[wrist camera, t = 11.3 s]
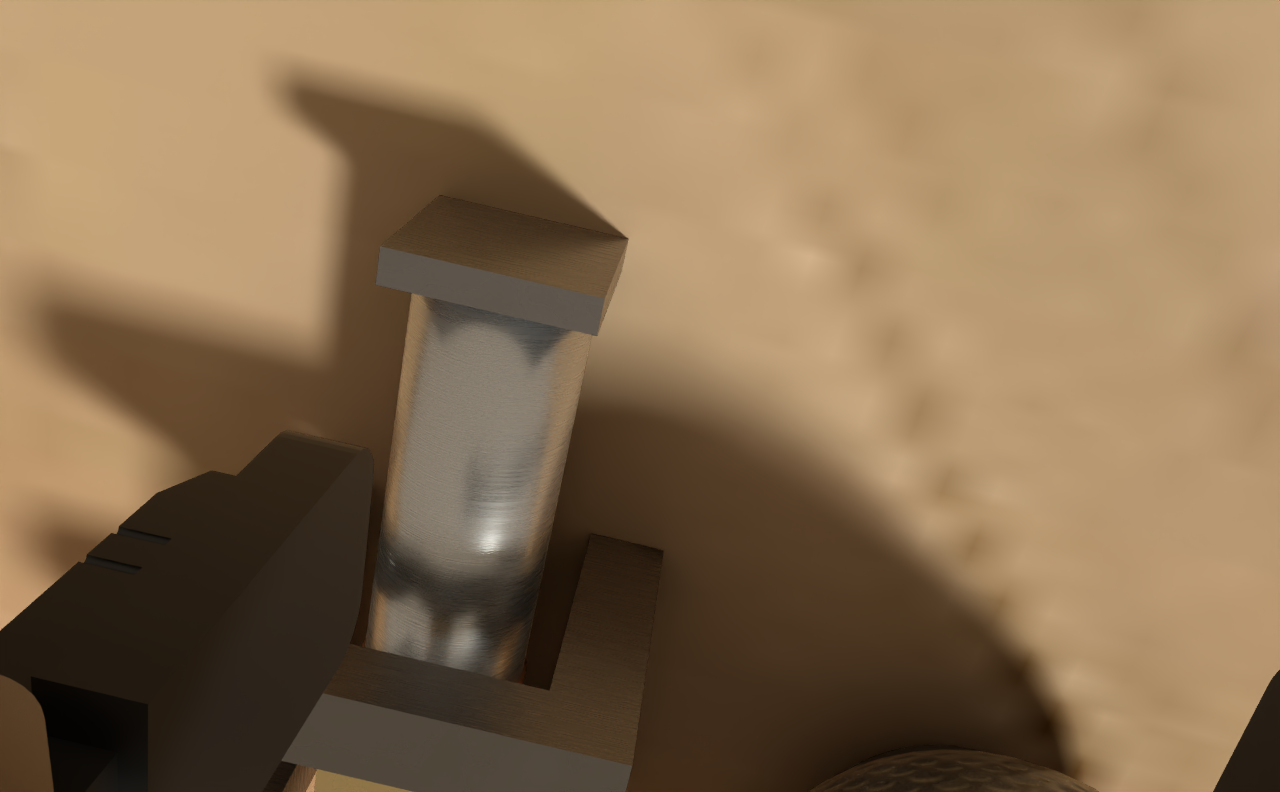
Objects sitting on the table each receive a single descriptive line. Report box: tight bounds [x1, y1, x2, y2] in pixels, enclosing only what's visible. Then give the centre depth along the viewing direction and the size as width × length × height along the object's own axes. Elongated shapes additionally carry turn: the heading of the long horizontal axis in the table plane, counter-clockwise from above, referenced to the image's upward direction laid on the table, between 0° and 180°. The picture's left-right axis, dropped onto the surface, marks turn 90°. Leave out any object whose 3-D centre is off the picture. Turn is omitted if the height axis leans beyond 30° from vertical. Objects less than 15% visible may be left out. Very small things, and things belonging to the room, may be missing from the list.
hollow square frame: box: [262, 534, 663, 792], centre depth 33 cm, size 12×10×10 cm
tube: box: [362, 195, 628, 684], centre depth 34 cm, size 6×22×6 cm, turn 168°
